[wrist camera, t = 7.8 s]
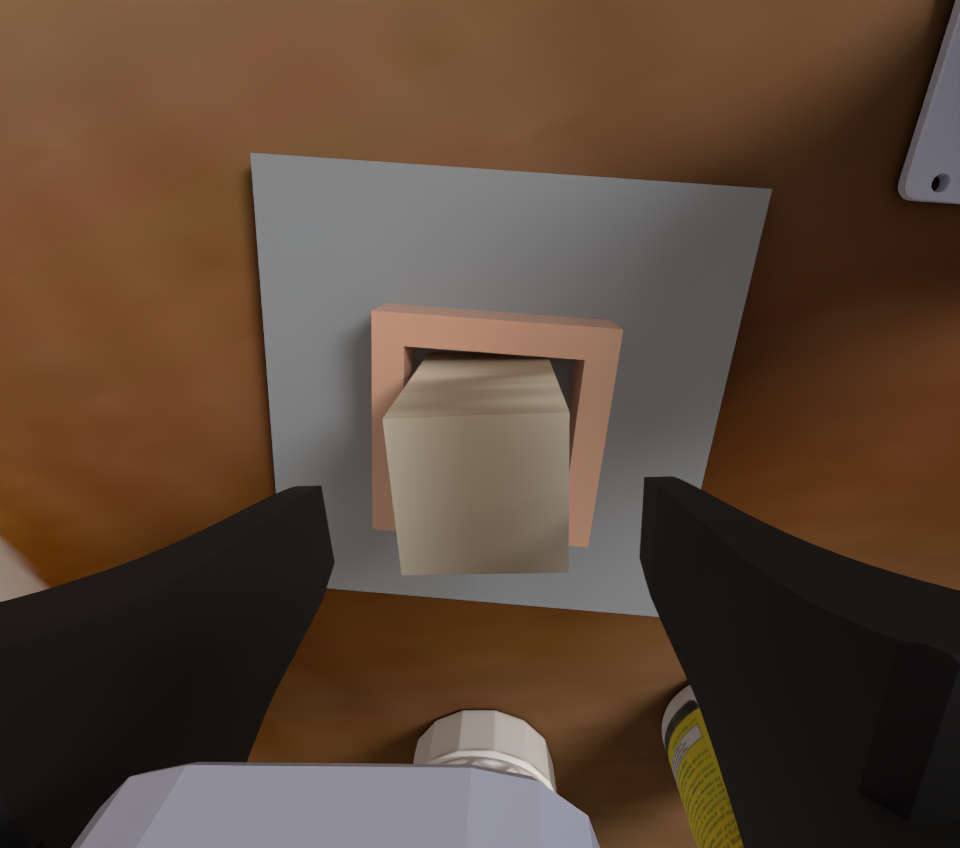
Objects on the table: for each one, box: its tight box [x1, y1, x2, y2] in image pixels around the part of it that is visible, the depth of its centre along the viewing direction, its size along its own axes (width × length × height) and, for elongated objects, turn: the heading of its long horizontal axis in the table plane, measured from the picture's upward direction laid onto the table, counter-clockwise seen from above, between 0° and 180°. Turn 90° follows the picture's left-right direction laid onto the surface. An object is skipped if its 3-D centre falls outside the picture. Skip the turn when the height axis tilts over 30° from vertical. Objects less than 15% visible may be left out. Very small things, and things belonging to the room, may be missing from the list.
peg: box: [383, 351, 570, 575], centre depth 15 cm, size 4×4×7 cm
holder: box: [250, 153, 772, 617], centre depth 18 cm, size 16×16×3 cm
